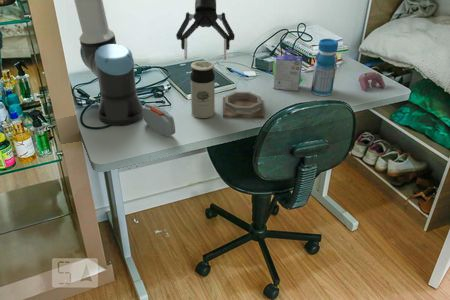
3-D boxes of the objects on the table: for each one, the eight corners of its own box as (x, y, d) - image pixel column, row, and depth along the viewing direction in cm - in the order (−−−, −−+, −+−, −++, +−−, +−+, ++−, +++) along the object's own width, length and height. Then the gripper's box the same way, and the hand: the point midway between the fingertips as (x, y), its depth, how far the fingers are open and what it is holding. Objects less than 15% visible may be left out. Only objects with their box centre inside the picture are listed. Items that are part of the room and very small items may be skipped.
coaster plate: (223, 117, 153) (223, 108, 151) (222, 99, 164) (223, 90, 162) (263, 117, 153) (264, 108, 151) (260, 99, 164) (261, 91, 163)
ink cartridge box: (299, 85, 175) (303, 50, 168) (298, 91, 171) (302, 55, 163) (274, 83, 177) (277, 48, 169) (273, 89, 172) (276, 53, 165)
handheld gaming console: (176, 137, 141) (175, 115, 137) (169, 140, 140) (168, 118, 135) (149, 121, 150) (147, 100, 145) (141, 124, 148) (139, 102, 144)
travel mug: (194, 107, 159) (193, 59, 149) (216, 109, 158) (216, 61, 148) (188, 117, 152) (187, 68, 142) (211, 120, 151) (211, 70, 141)
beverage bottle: (318, 98, 166) (325, 46, 155) (306, 89, 173) (312, 39, 162) (337, 94, 169) (345, 43, 158) (324, 85, 175) (331, 36, 165)
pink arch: (379, 88, 178) (377, 71, 177) (386, 88, 173) (384, 70, 172) (357, 91, 175) (356, 74, 174) (364, 91, 171) (363, 73, 170)
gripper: (240, 7, 161) (240, 62, 157) (171, 6, 161) (170, 61, 157) (241, -4, 154) (242, 53, 150) (169, -5, 153) (168, 53, 149)
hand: (205, 58), depth 153 cm, fingers open, 13 cm apart
